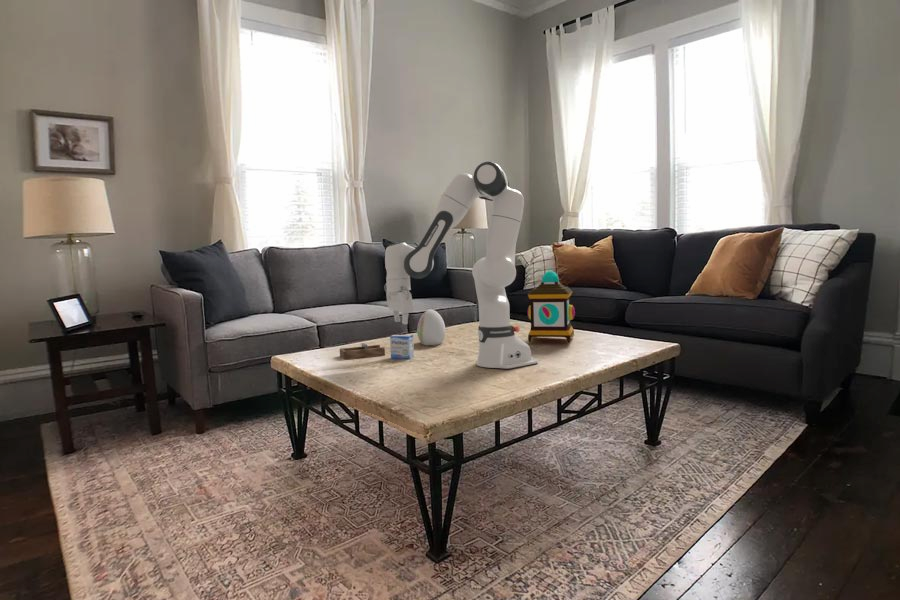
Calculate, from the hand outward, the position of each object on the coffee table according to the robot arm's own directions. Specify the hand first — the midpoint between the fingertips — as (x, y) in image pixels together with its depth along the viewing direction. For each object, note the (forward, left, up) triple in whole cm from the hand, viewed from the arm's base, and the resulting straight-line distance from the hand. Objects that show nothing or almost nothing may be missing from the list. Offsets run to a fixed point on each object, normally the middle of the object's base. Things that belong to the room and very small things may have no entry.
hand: (401, 322), depth 205 cm
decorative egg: (-21, -23, -14) cm, 34 cm away
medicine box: (0, 0, -14) cm, 14 cm away
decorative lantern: (-68, -2, -14) cm, 69 cm away
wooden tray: (+12, -13, -13) cm, 22 cm away
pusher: (+12, -13, -13) cm, 22 cm away
